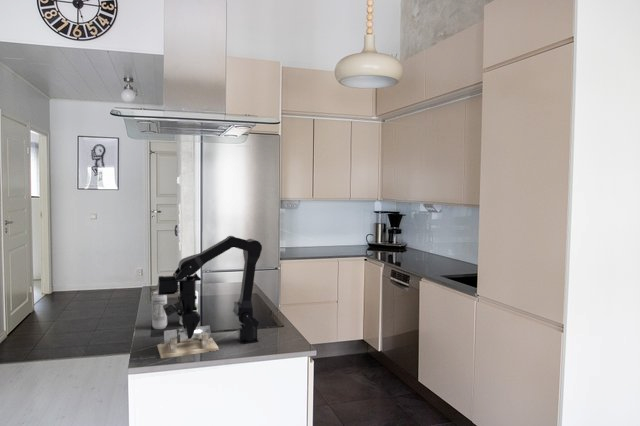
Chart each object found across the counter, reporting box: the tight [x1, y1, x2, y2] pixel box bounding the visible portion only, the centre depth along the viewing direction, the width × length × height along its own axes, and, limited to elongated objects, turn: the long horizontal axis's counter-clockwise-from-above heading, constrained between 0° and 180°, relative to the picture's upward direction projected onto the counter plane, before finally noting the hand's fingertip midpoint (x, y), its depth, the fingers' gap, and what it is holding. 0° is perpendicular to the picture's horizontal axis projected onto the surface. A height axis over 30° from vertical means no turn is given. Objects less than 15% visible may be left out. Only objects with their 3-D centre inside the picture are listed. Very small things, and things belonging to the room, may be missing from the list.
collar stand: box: [157, 333, 219, 359], centre depth 167 cm, size 20×12×6 cm, turn 115°
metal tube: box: [163, 325, 212, 345], centre depth 167 cm, size 16×5×5 cm, turn 115°
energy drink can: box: [151, 290, 168, 330], centre depth 190 cm, size 6×6×15 cm
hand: (187, 334), depth 166 cm, fingers open, 9 cm apart
